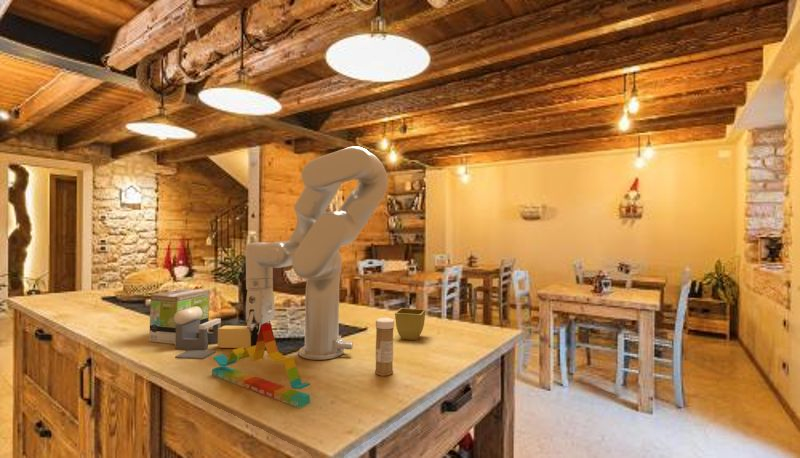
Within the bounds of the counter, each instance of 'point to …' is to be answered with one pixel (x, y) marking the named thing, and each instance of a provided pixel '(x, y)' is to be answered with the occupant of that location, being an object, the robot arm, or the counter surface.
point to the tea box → (174, 312)
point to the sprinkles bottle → (384, 346)
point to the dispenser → (194, 330)
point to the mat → (195, 354)
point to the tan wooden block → (234, 337)
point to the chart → (258, 383)
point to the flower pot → (410, 322)
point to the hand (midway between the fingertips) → (260, 344)
